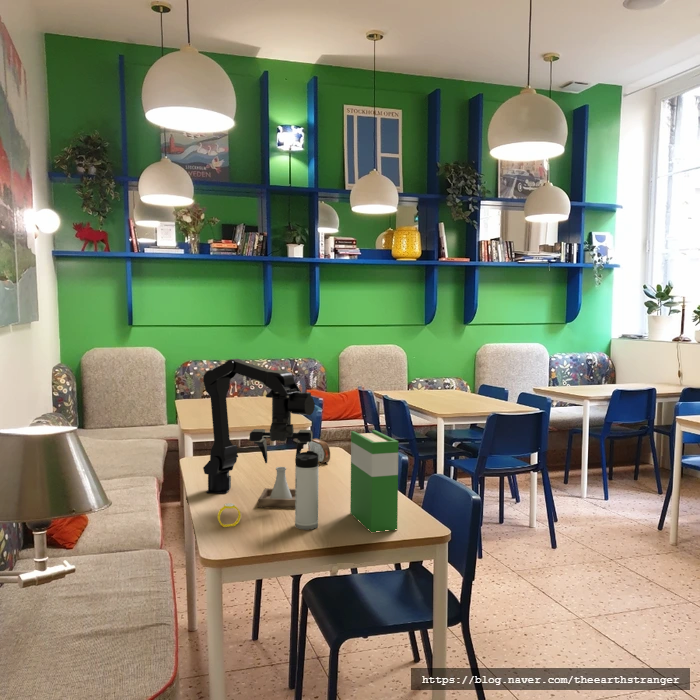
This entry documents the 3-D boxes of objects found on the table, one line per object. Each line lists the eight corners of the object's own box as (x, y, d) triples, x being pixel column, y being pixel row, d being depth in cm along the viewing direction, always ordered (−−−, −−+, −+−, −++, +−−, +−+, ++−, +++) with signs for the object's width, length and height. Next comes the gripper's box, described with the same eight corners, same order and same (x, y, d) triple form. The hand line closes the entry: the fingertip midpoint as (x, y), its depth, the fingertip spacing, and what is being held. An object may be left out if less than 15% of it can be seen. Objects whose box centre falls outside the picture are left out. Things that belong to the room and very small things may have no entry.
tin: (330, 464, 243) (331, 443, 242) (323, 465, 241) (323, 443, 241) (313, 457, 256) (313, 436, 255) (306, 457, 254) (306, 437, 254)
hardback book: (350, 513, 181) (351, 431, 180) (374, 511, 184) (375, 430, 182) (371, 533, 164) (372, 442, 163) (397, 530, 167) (398, 441, 166)
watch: (238, 524, 171) (240, 502, 171) (240, 527, 169) (242, 505, 169) (216, 525, 169) (218, 503, 169) (218, 528, 167) (219, 506, 166)
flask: (293, 502, 189) (294, 470, 188) (269, 504, 187) (270, 471, 187) (291, 496, 196) (291, 464, 195) (268, 497, 194) (268, 465, 194)
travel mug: (321, 523, 172) (321, 451, 171) (314, 530, 166) (314, 456, 165) (299, 521, 173) (299, 450, 172) (291, 529, 167) (292, 454, 166)
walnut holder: (258, 507, 186) (258, 499, 186) (265, 496, 198) (265, 488, 198) (298, 508, 186) (298, 499, 185) (302, 496, 198) (302, 488, 197)
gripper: (245, 416, 183) (245, 469, 184) (309, 417, 182) (309, 470, 183) (252, 411, 194) (252, 460, 195) (312, 411, 193) (312, 461, 194)
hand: (281, 463), depth 191 cm, fingers open, 9 cm apart
